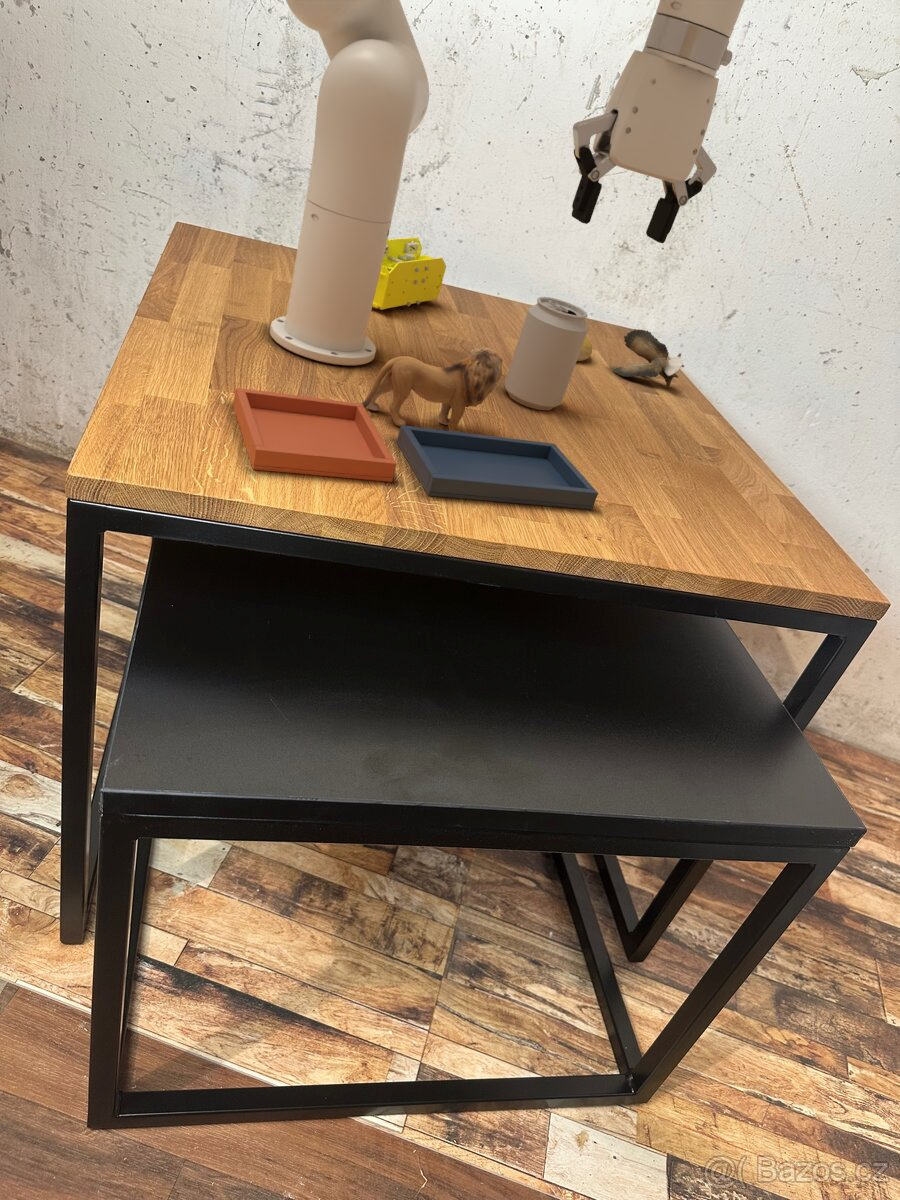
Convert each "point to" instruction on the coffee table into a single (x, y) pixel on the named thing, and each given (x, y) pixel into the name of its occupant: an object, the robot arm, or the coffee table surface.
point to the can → (546, 353)
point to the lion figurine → (438, 384)
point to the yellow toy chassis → (407, 275)
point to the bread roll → (585, 350)
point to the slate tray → (494, 469)
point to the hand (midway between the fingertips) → (617, 230)
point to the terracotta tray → (311, 436)
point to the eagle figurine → (650, 357)
